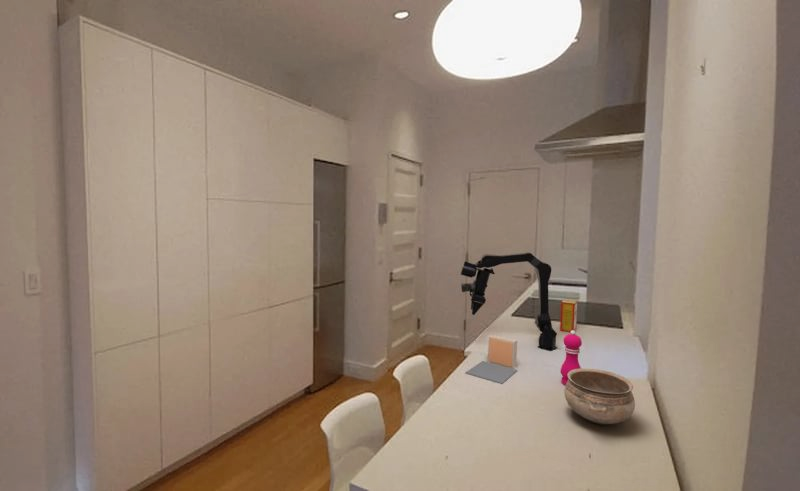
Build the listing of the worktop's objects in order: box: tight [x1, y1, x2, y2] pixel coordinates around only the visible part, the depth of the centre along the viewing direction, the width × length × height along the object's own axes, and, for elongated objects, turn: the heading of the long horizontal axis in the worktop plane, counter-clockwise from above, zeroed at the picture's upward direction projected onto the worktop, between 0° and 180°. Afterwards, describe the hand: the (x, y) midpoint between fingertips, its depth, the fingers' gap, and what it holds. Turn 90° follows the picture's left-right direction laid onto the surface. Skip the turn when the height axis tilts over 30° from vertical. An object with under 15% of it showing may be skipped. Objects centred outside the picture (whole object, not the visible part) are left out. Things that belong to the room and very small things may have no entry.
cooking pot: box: [563, 367, 636, 426], centre depth 116 cm, size 25×19×12 cm
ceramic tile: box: [487, 334, 518, 369], centre depth 158 cm, size 3×11×11 cm, turn 52°
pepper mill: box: [559, 330, 583, 387], centre depth 140 cm, size 7×7×20 cm
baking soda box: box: [559, 298, 579, 333], centre depth 206 cm, size 10×6×16 cm
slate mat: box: [465, 360, 518, 385], centre depth 151 cm, size 15×15×1 cm
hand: (472, 312), depth 182 cm, fingers open, 9 cm apart
